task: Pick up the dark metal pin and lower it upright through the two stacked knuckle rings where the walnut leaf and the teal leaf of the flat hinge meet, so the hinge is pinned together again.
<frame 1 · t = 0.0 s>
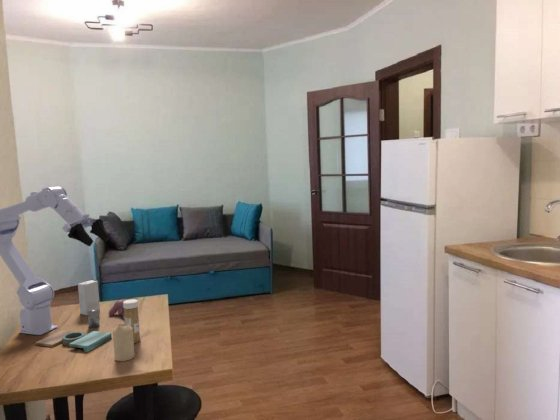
hand: (99, 241, 148), 32 cm above the table, tool tilted 50°, fingers open, 7 cm apart
pin: (94, 326, 163), on the table
sprinkles bottle: (133, 341, 148), on the table
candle: (124, 358, 136), on the table
skincare box: (90, 313, 178), on the table
video game controller: (122, 316, 173), on the table
hinge: (74, 341, 149), on the table
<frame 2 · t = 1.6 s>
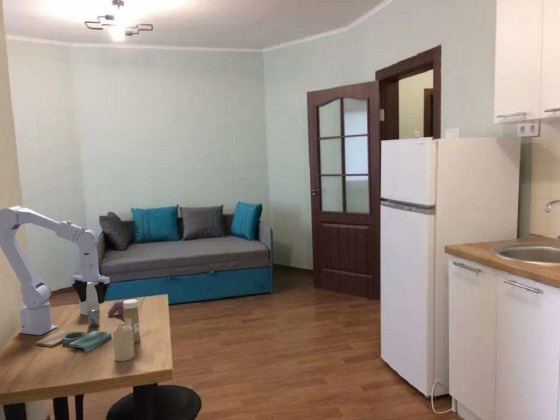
hand: (92, 302, 162), 9 cm above the table, tool pointing down, fingers open, 7 cm apart
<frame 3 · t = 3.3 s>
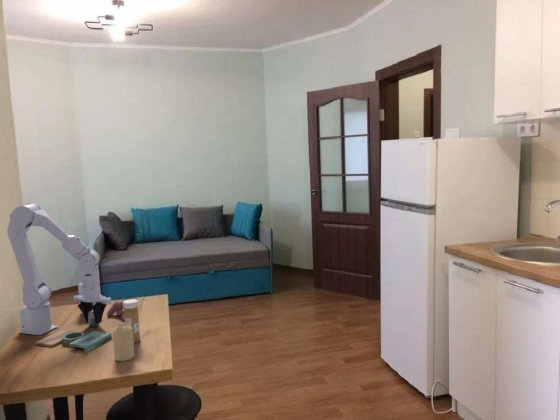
hand: (93, 322, 163), 1 cm above the table, tool pointing down, fingers closed on pin, 4 cm apart
pin: (94, 326, 163), on the table, touching gripper
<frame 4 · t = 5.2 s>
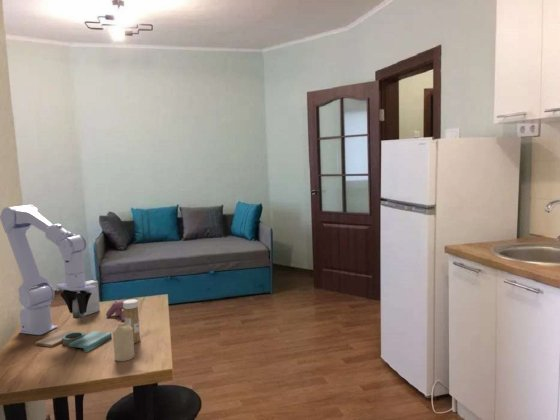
hand: (78, 312, 152), 8 cm above the table, tool pointing down, fingers closed on pin, 4 cm apart
pin: (78, 316, 152), point 7 cm above the table, touching gripper
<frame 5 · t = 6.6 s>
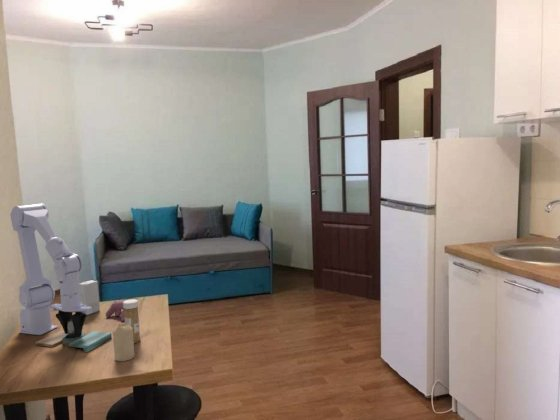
hand: (73, 333, 149), 3 cm above the table, tool pointing down, fingers closed on pin, 4 cm apart
pin: (74, 337, 149), point 1 cm above the table, touching gripper
when the fingers open (3 cm above the table, at t = 7.3 s): pin drops 1 cm, resting in hinge.
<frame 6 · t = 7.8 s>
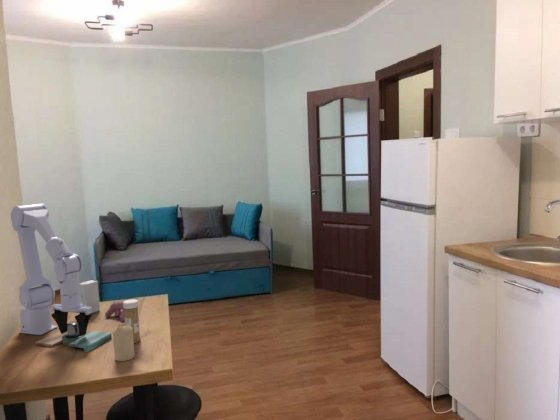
hand: (73, 333, 149), 3 cm above the table, tool pointing down, fingers open, 7 cm apart
pin: (74, 341, 150), resting in hinge
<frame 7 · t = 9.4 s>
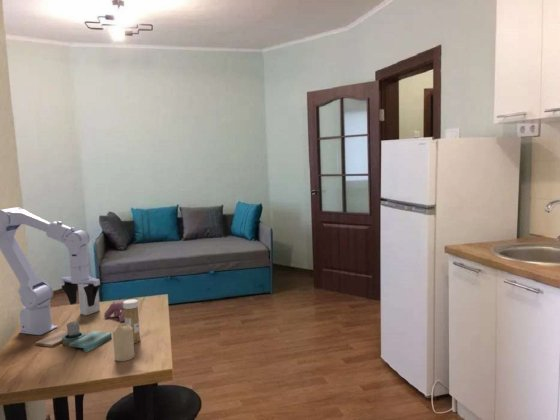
hand: (82, 304, 158), 9 cm above the table, tool pointing down, fingers open, 7 cm apart
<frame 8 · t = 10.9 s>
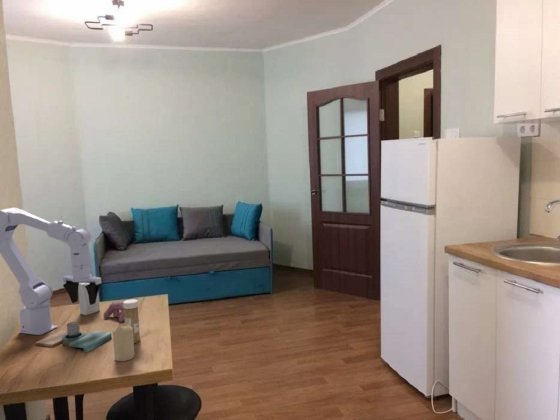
hand: (83, 303, 159), 9 cm above the table, tool pointing down, fingers open, 7 cm apart
at the end: pin 0.1 cm off-centre on the hinge, point 0.0 cm above the hinge's base; pin tilted 0°; the gripper is holding nothing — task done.
